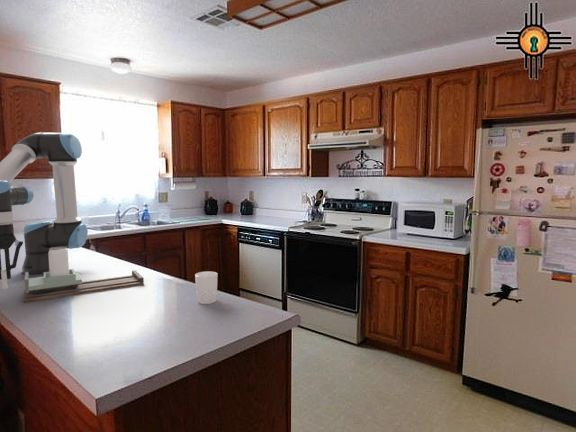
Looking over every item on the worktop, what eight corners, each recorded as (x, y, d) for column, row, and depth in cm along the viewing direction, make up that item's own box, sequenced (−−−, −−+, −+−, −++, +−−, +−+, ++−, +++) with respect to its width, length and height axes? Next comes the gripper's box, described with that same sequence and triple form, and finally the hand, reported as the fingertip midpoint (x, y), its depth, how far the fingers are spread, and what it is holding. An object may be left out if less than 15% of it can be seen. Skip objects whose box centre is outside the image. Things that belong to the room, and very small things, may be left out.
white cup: (221, 299, 142) (221, 272, 141) (210, 305, 134) (210, 277, 133) (203, 296, 144) (202, 270, 143) (191, 303, 137) (190, 275, 136)
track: (25, 292, 151) (24, 284, 150) (135, 276, 173) (135, 270, 173) (24, 302, 138) (23, 294, 138) (143, 284, 160) (143, 277, 160)
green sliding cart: (26, 287, 150) (25, 272, 149) (78, 280, 160) (78, 266, 159) (25, 296, 139) (24, 279, 138) (82, 288, 149) (81, 272, 148)
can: (60, 281, 146) (58, 249, 145) (45, 280, 148) (43, 249, 146) (73, 276, 152) (71, 246, 151) (59, 275, 154) (57, 246, 153)
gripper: (22, 221, 145) (26, 282, 147) (-22, 223, 138) (-17, 288, 140) (22, 223, 139) (26, 287, 141) (-25, 226, 132) (-19, 293, 134)
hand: (5, 287), depth 141 cm, fingers closed
